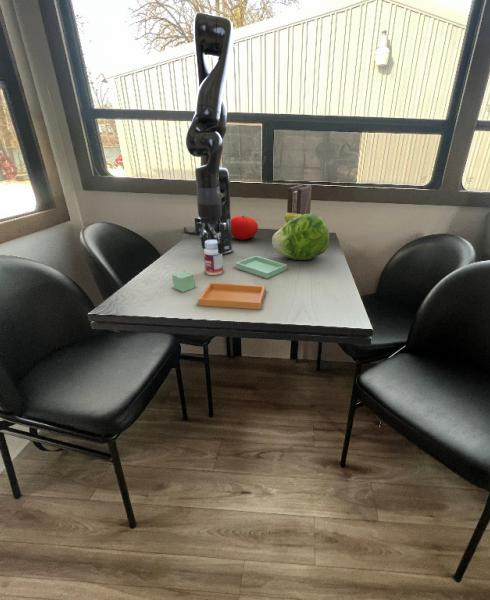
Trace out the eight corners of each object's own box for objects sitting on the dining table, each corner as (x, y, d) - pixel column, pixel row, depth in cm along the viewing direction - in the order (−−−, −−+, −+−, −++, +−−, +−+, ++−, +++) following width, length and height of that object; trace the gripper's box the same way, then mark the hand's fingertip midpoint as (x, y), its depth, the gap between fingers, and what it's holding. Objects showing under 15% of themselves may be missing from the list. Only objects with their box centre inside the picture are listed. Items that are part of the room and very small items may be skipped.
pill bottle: (202, 272, 106) (199, 241, 101) (216, 267, 110) (213, 238, 105) (212, 276, 102) (210, 245, 97) (226, 272, 107) (224, 241, 102)
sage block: (173, 288, 93) (172, 274, 91) (185, 283, 97) (184, 270, 95) (182, 292, 91) (181, 278, 89) (194, 287, 94) (193, 274, 92)
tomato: (233, 234, 153) (233, 212, 147) (259, 236, 151) (259, 213, 146) (226, 241, 142) (224, 216, 137) (254, 243, 140) (253, 218, 135)
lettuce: (275, 250, 134) (268, 211, 122) (326, 243, 133) (324, 203, 121) (275, 273, 119) (268, 231, 108) (333, 265, 118) (332, 222, 107)
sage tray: (235, 267, 111) (234, 262, 110) (255, 260, 120) (255, 255, 119) (267, 278, 103) (267, 273, 102) (286, 269, 112) (286, 264, 111)
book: (296, 233, 160) (298, 184, 148) (311, 235, 157) (315, 185, 146) (281, 244, 141) (283, 188, 130) (298, 246, 139) (301, 190, 127)
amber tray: (198, 305, 84) (198, 299, 83) (210, 288, 94) (210, 282, 93) (260, 309, 83) (260, 303, 82) (265, 291, 94) (265, 285, 93)
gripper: (233, 203, 94) (235, 252, 102) (203, 198, 102) (207, 244, 109) (215, 205, 89) (219, 257, 96) (185, 200, 96) (191, 248, 103)
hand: (213, 250), depth 103 cm, fingers open, 7 cm apart
